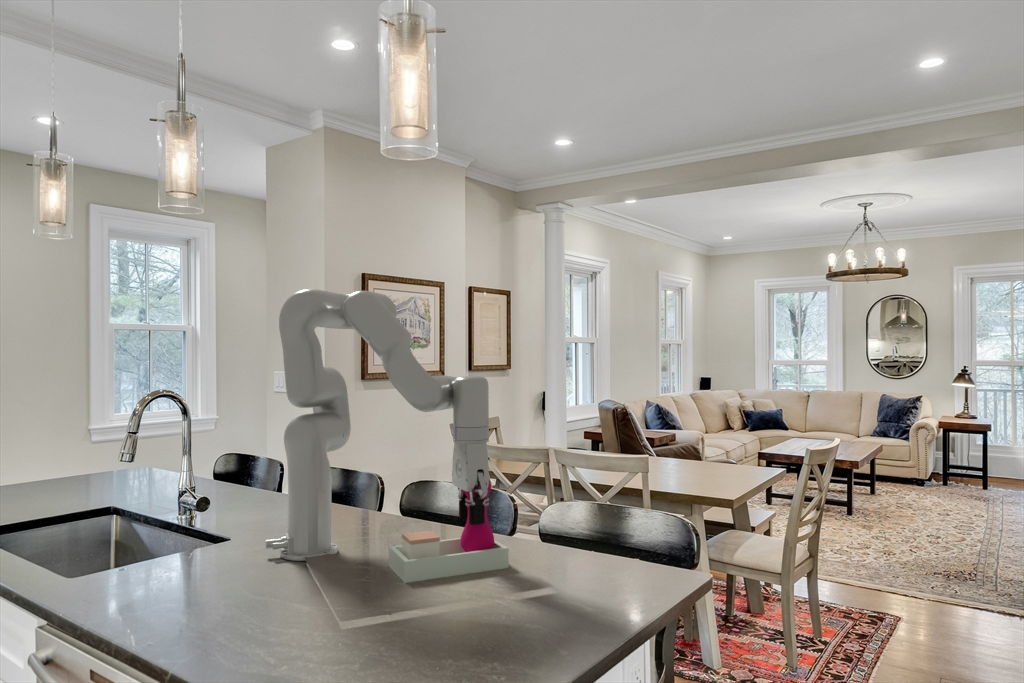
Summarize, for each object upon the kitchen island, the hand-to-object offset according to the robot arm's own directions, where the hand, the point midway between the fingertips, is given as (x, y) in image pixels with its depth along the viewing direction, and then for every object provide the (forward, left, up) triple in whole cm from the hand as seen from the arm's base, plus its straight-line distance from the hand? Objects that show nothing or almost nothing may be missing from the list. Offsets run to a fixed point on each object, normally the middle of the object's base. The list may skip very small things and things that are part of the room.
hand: (471, 520), depth 142 cm
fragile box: (-11, 0, -9) cm, 14 cm away
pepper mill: (+1, 0, -9) cm, 9 cm away
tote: (-5, 0, -10) cm, 11 cm away
